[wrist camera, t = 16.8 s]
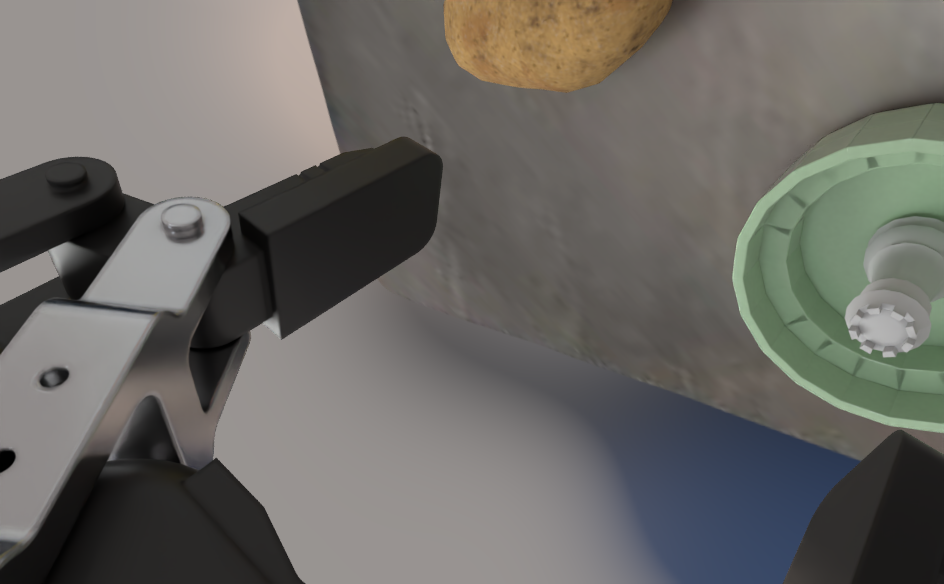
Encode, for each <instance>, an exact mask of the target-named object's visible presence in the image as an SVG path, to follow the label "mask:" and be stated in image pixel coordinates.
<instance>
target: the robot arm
mask: <svg viewBox="0 0 944 584" xmlns="http://www.w3.org/2000/svg"><path fill="white" fill-rule="evenodd" d="M442 170H443V163H442V159H441V158H440V156H439V155H437V154H436V153H434V152H432V151H431V150H429V149H427V148H425V147H424V146H422V145H420V144H419V143H417V142H415V141H414V140H412V139H410V138H408V137H399V138H397V139H395V140H393V141H390V142H388V143H386V144H384V145H382V146H380V147H377V148H375V149H373V148H369V149H363V150H357V151H351V152H345V153H342V154H340V155H337V156H335V157H333V158H331V159H329V160H326V161H324V162H322V163H320V165H319V166H318V167H317V166H316V165H315V166H313V167H311V168H309V169H306V170H304V171H302V172H301V174H300V175H299V176H298V175H297V174H296V175H293V176H291V177H289V178H287V179H285V180H282V181H280V182H278V183H276V184H274V185H271V186H269V187H267V188H265V189H262V190H260V191H258V192H256V193H253V194H251V195H249V196H247V197H245V198H243V199H240V200H238V201H236V202H234V203H231V204H229V205H227V206H224V207H223V206H221V205H220V204H219V203H217V202H214V201H212V200H209V199H205V198H200V197H179V198H173V199H169V200H165V201H162V202H159V203H157V204H155V205H154V204H152V203H149V202H146V201H143V200H140V199H138V198H135V197H132V196H129V195H126V194H123V193H122V190H121V187H120V184H119V181H118V177H117V174H116V171H115V170H114V168H113V167H112V166H111V165H109V164H108V163H106V162H104V161H102V160H99V159H95V158H89V157H68V158H61V159H56V160H52V161H49V162H46V163H43V164H41V165H38V166H35V167H32V168H30V169H27V170H24V171H22V172H19V173H16V174H14V175H11V176H8V177H6V178H3V179H0V272H2V271H5V270H7V269H9V268H11V267H13V266H15V265H18V264H20V263H22V262H24V261H26V260H28V259H30V258H33V257H35V256H37V255H39V254H41V253H44V252H45V251H48V253H49V255H50V257H51V259H52V262H53V264H54V266H55V268H56V270H57V273H58V275H59V277H57V278H54V279H53V280H50V281H48V282H46V283H44V284H42V285H40V286H38V287H36V288H35V289H32V290H30V291H28V292H26V293H24V294H22V295H20V296H18V297H16V298H14V299H12V300H10V301H8V302H6V303H4V304H2V305H0V584H305V583H304V582H302V580H300V578H299V577H298V575H297V574H296V572H295V570H294V568H293V566H292V564H291V562H290V560H289V558H288V556H287V554H286V552H285V549H284V547H283V546H282V543H281V541H280V539H279V537H278V535H277V533H276V531H275V529H274V527H273V525H272V523H271V521H270V519H269V517H268V514H267V512H266V510H265V508H264V507H263V506H262V505H261V504H260V502H258V500H257V499H256V498H255V497H254V496H253V495H252V494H251V493H250V492H249V491H248V490H247V489H246V488H245V487H244V486H243V485H242V484H241V483H240V482H239V481H238V480H237V479H236V478H235V477H234V475H233V474H231V472H230V471H229V470H228V469H227V468H226V467H225V466H224V465H223V464H222V463H221V462H220V461H219V460H218V459H217V458H215V459H214V460H213V454H214V437H215V431H216V427H217V424H218V421H219V419H220V416H221V414H222V411H223V409H224V406H225V404H226V401H227V399H228V396H229V394H230V391H231V389H232V386H233V383H234V381H235V378H236V376H237V374H238V371H239V369H240V366H241V364H242V361H243V359H244V356H245V354H246V351H247V348H248V346H249V343H250V339H251V332H250V330H252V329H253V328H255V327H257V326H258V325H260V324H262V323H263V324H264V325H265V326H266V327H267V328H268V329H270V330H271V331H272V332H273V333H274V334H275V335H277V336H278V337H279V338H280V339H281V340H282V339H283V338H285V337H286V336H288V335H289V334H291V333H293V332H294V331H296V330H297V329H299V328H300V327H302V326H304V325H305V324H307V323H308V322H310V321H311V320H313V319H315V318H316V317H318V316H319V315H321V314H322V313H324V312H326V311H327V310H328V309H330V308H332V307H333V306H335V305H336V304H338V303H339V302H341V301H343V300H344V299H346V298H347V297H349V296H351V295H352V294H354V293H355V292H357V291H358V290H360V289H361V288H363V287H364V286H366V285H368V284H369V283H371V282H372V281H374V280H375V279H377V278H379V277H380V276H382V275H383V274H385V273H386V272H388V271H390V270H391V269H393V268H394V267H396V266H397V265H399V264H401V263H402V262H404V261H405V260H407V259H408V258H410V257H411V256H413V255H415V254H416V253H418V252H419V251H420V250H421V249H423V248H424V246H425V245H426V244H427V243H428V242H429V240H430V238H431V237H432V235H433V233H434V230H435V227H436V223H437V214H438V206H439V197H440V188H441V179H442ZM783 584H944V455H943V454H942V453H940V452H938V451H937V450H935V449H933V448H932V447H930V446H928V445H926V444H925V443H923V442H921V441H920V440H918V439H916V438H915V437H913V436H911V435H909V434H908V433H906V432H904V431H903V430H897V431H895V432H894V433H892V434H891V435H890V436H888V437H887V438H886V439H885V440H884V441H883V442H882V443H881V444H880V445H879V446H878V447H876V448H875V449H874V450H873V451H872V452H871V453H870V454H869V455H868V456H867V457H866V458H864V459H863V460H862V461H861V462H860V463H859V464H858V465H857V466H856V467H855V468H854V469H853V470H852V471H850V472H849V473H848V474H847V475H846V476H845V477H844V478H843V479H842V480H841V481H839V482H838V483H837V484H836V485H835V486H834V487H833V488H832V490H831V491H830V492H829V493H828V494H827V496H826V497H825V498H824V500H823V501H822V502H821V504H820V505H819V507H818V508H817V510H816V512H815V514H814V515H813V517H812V519H811V521H810V523H809V525H808V528H807V530H806V532H805V534H804V537H803V539H802V541H801V543H800V546H799V548H798V550H797V553H796V555H795V557H794V559H793V562H792V564H791V566H790V569H789V571H788V573H787V575H786V578H785V580H784V582H783Z"/></svg>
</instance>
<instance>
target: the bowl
mask: <svg viewBox="0 0 944 584" xmlns="http://www.w3.org/2000/svg"><path fill="white" fill-rule="evenodd" d="M913 216H918V217H926V218H934V219H938V220H940V221H942V222H944V104H940V103H935V104H934V103H932V104H926V105H920V106H914V107H909V108H903V109H897V110H891V111H886V112H880V113H875V114H872V115H869V116H867V117H865V118H863V119H861V120H859V121H856V122H854V123H852V124H850V125H848V126H846V127H844V128H841V129H839V130H837V131H835V132H833V133H831V134H828V135H826V136H825V137H823V138H822V139H821V140H820V141H818V142H817V143H816V144H815V145H814V146H813V147H812V148H811V149H809V150H808V151H807V152H806V153H805V154H804V155H803V156H802V157H800V158H799V159H798V160H797V161H796V162H795V163H794V164H792V165H791V166H790V167H789V168H788V169H787V170H786V172H785V173H784V174H783V175H782V176H781V177H780V178H779V179H778V180H777V181H776V182H775V184H774V185H773V186H772V187H771V188H770V189H769V190H768V191H767V192H766V193H765V194H764V196H763V197H762V198H761V199H760V200H759V201H758V202H757V204H756V206H755V207H754V209H753V211H752V213H751V215H750V216H749V218H748V220H747V222H746V224H745V225H744V227H743V229H742V231H741V233H740V235H739V236H738V239H737V244H736V252H735V259H734V267H733V274H732V280H733V284H734V288H735V293H736V297H737V301H738V306H739V310H740V314H741V316H742V318H743V320H744V322H745V323H746V325H747V327H748V328H749V330H750V332H751V333H752V335H753V337H754V338H755V340H756V342H757V343H758V345H759V347H760V348H761V350H762V351H763V352H764V353H765V354H766V355H767V356H768V357H769V358H770V359H771V360H772V361H773V362H774V363H775V364H776V365H777V366H778V367H779V368H780V369H781V370H782V371H783V372H784V373H785V374H786V375H788V376H789V377H790V378H791V379H792V380H793V381H794V382H795V383H797V384H798V385H800V386H802V387H803V388H805V389H807V390H808V391H810V392H812V393H813V394H815V395H817V396H818V397H820V398H822V399H823V400H825V401H827V402H828V403H830V404H832V405H833V406H835V407H838V408H839V409H842V410H845V411H848V412H851V413H853V414H856V415H859V416H862V417H865V418H868V419H871V420H874V421H876V422H879V423H882V424H885V425H889V426H895V427H902V428H910V429H917V430H924V431H932V432H939V433H944V297H943V298H941V299H938V300H936V301H934V302H930V303H931V306H932V309H931V313H930V317H929V319H930V322H931V329H930V333H929V337H928V338H927V339H926V340H925V341H924V342H923V343H922V344H921V345H920V346H919V347H917V348H915V349H912V350H909V351H908V352H907V353H906V352H898V353H897V355H896V357H883V351H879V350H875V349H873V350H872V352H871V354H869V353H867V352H865V351H864V350H862V349H860V346H861V344H862V343H861V342H859V341H858V340H857V339H853V340H852V339H851V336H850V334H849V331H848V330H849V329H848V327H847V324H846V321H845V315H846V309H847V306H848V305H849V304H850V303H851V301H852V300H853V299H854V298H855V297H857V296H859V295H860V294H861V292H862V291H863V290H864V289H865V288H866V286H867V285H869V284H871V283H870V282H869V281H868V278H867V275H866V272H865V269H864V265H863V262H864V257H865V251H866V248H867V247H868V242H869V240H870V239H871V238H872V236H873V235H874V234H875V233H876V231H877V230H878V229H879V228H881V227H883V226H884V225H886V224H888V223H890V222H891V221H893V220H896V219H902V218H907V217H913Z"/></svg>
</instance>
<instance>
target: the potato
mask: <svg viewBox="0 0 944 584" xmlns="http://www.w3.org/2000/svg"><path fill="white" fill-rule="evenodd" d="M672 1H673V0H445V2H444V20H445V37H446V41H447V43H448V45H449V47H450V50H451V52H452V54H453V56H454V58H455V60H456V62H457V63H458V65H459V66H460V67H462V68H463V69H465V70H466V71H468V72H469V73H471V74H473V75H474V76H476V77H477V78H479V79H480V80H482V81H488V82H493V83H498V84H503V85H508V86H513V87H520V88H532V89H543V90H551V91H558V92H566V93H567V92H571V91H574V90H578V89H581V88H585V87H588V86H591V85H595V84H598V83H600V82H601V81H603V80H604V79H605V78H606V77H607V76H609V75H610V74H611V73H612V72H613V71H615V70H616V69H617V68H618V67H619V66H620V65H622V64H623V63H624V62H625V61H626V60H627V59H629V58H630V57H631V56H632V55H633V54H634V53H636V52H637V51H638V50H639V49H640V48H641V47H642V46H643V45H644V44H645V43H646V41H647V40H648V39H649V38H650V36H651V35H652V34H653V33H654V31H655V30H656V29H657V28H658V27H659V25H660V24H661V23H662V21H663V20H664V18H665V16H666V15H667V13H668V12H669V10H670V8H671V4H672Z"/></svg>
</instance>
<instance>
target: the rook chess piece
mask: <svg viewBox="0 0 944 584" xmlns="http://www.w3.org/2000/svg"><path fill="white" fill-rule="evenodd" d="M863 265H864V269H865V272H866V275H867V278H868V281H869V282H870V283H871V284H869V285H867V286H866V288H865V289H864V290H863V291H862V292H861V294H860V295H859V296H857V297H855V298H854V299H853V300H852V301H851V303H850V304H849V305H848V306H847V309H846V315H845V321H846V324H847V327H848V329H849V330H848V331H849V334H850V336H851V339H852V340H853V339H857V340H858V341H859V342H861V343H862V344H861V346H860V349H862V350H864V351H865V352H867V353H869V354H871V352H872V350H873V349H875V350H879V351H883V357H896V355H897V353H898V352H906V353H907V352H908V351H909V350H912V349H915V348H917V347H919V346H920V345H921V344H922V343H923V342H924V341H925V340H926V339H927V338H928V337H929V333H930V329H931V322H930V319H929V317H930V313H931V309H932V306H931V303H930V302H934V301H936V300H938V299H941V298H943V297H944V222H942V221H940V220H938V219H934V218H926V217H918V216H913V217H907V218H902V219H896V220H893V221H891V222H890V223H888V224H886V225H884V226H883V227H881V228H879V229H878V230H877V231H876V233H875V234H874V235H873V236H872V238H871V239H870V240H869V242H868V247H867V248H866V251H865V257H864V262H863Z"/></svg>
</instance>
